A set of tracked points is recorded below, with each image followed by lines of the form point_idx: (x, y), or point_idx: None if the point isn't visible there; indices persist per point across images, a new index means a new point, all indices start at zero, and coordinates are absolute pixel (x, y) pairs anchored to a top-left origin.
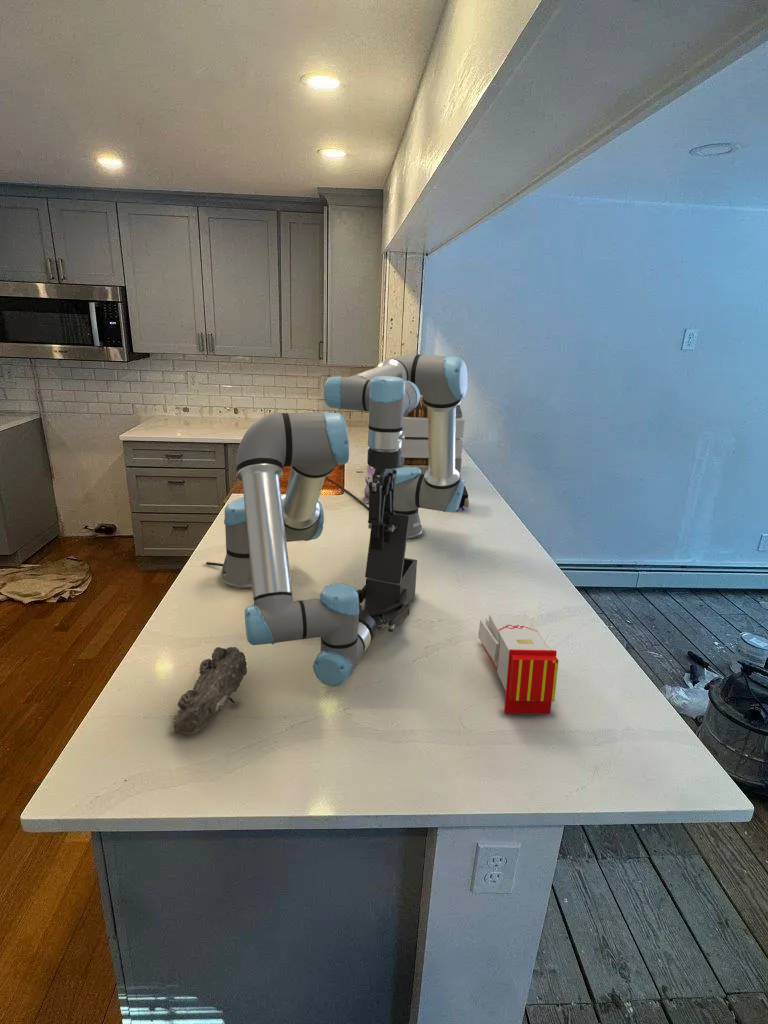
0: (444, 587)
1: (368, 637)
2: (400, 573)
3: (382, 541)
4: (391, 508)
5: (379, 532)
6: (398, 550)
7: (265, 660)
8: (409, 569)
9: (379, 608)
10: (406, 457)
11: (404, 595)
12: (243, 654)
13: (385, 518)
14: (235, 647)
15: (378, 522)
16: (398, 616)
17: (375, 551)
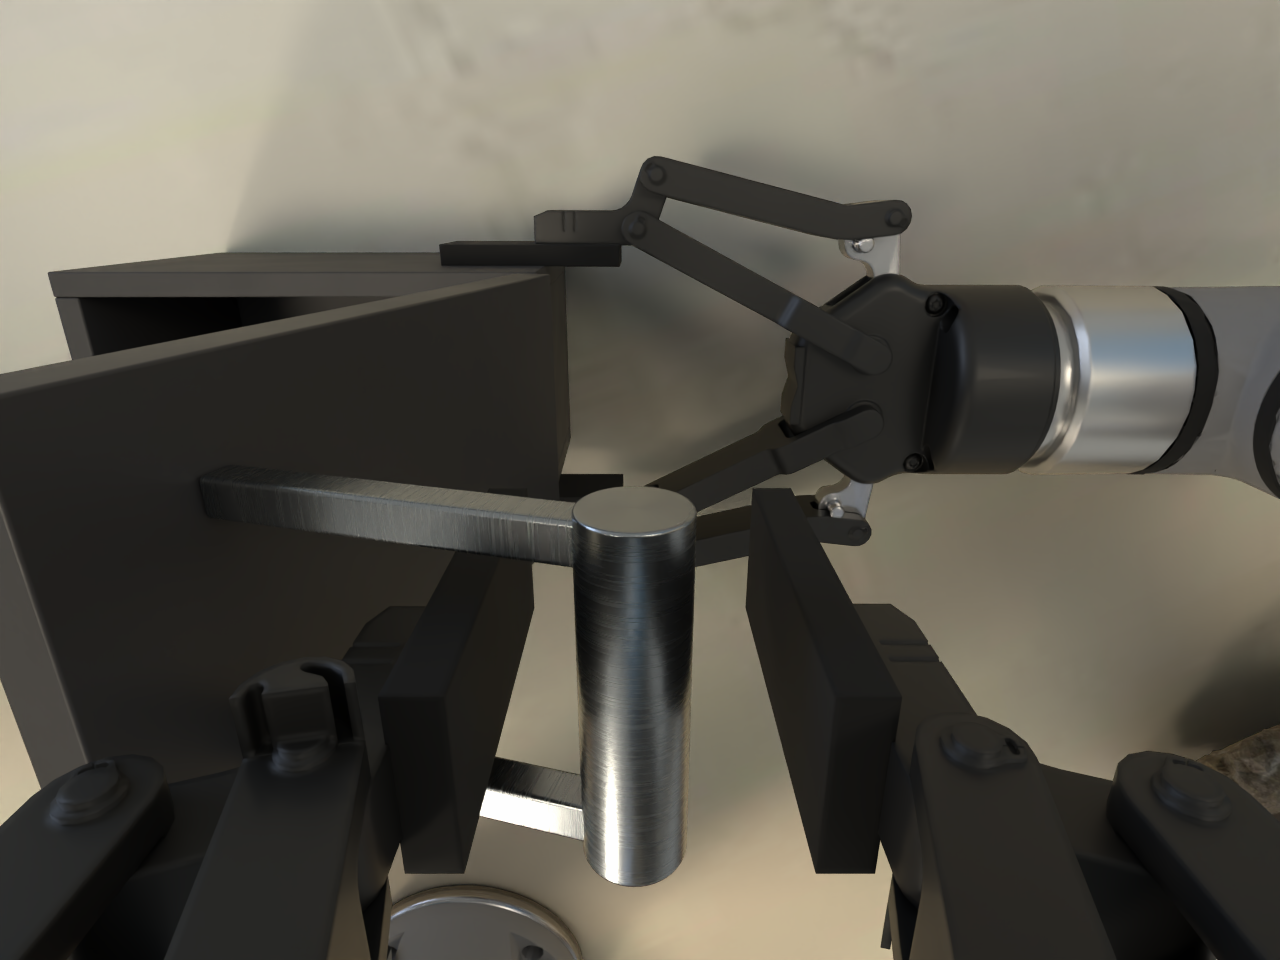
0: (8, 92)
1: (1098, 293)
2: (518, 288)
3: (813, 537)
4: (249, 825)
5: (884, 648)
6: (417, 369)
7: (1028, 667)
8: (247, 283)
9: (562, 376)
10: None
11: (500, 243)
12: (1254, 751)
13: (460, 742)
14: (1277, 799)
15: (1262, 810)
16: (803, 194)
17: None
